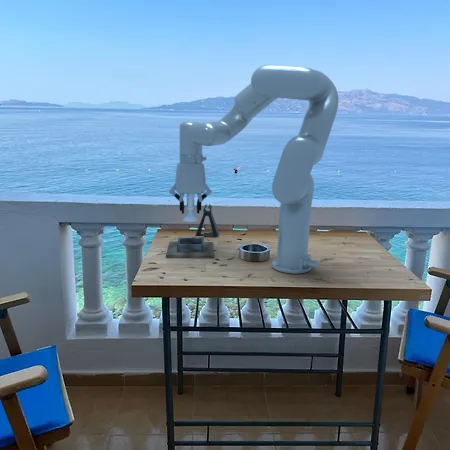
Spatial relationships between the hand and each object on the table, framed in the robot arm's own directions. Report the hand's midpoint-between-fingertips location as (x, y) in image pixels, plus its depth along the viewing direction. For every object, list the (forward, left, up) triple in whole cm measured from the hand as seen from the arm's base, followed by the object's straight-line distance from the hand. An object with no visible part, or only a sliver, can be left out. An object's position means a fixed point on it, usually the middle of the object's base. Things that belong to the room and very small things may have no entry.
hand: (190, 212), depth 157 cm
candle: (0, 0, -3) cm, 3 cm away
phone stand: (+8, -20, -14) cm, 26 cm away
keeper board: (0, 0, -14) cm, 14 cm away
